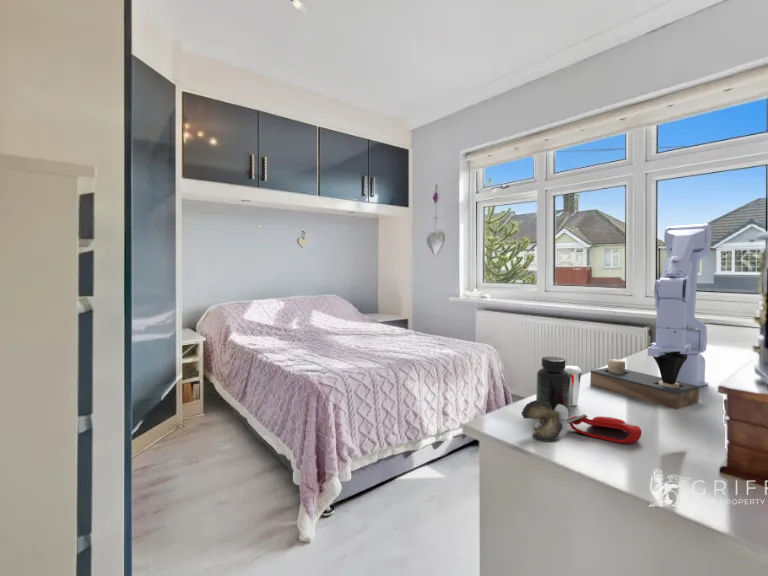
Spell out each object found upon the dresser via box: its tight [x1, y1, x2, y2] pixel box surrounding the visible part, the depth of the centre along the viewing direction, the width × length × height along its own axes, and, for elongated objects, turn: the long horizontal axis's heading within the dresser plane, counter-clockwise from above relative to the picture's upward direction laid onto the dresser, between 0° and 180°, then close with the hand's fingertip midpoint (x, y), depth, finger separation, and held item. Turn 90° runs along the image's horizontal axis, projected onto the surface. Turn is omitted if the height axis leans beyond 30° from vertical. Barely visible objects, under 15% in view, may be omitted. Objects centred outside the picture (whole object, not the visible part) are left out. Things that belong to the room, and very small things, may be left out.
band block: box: [589, 367, 700, 410], centre depth 100 cm, size 10×21×4 cm, turn 26°
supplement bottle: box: [535, 356, 571, 413], centre depth 87 cm, size 7×7×12 cm
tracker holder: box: [566, 413, 642, 445], centre depth 75 cm, size 12×4×10 cm
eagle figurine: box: [521, 400, 570, 442], centre depth 76 cm, size 8×7×9 cm
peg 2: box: [659, 381, 679, 388], centre depth 94 cm, size 4×4×4 cm
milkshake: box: [564, 358, 582, 407], centre depth 93 cm, size 5×5×10 cm
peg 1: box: [607, 358, 626, 375], centre depth 106 cm, size 4×4×4 cm
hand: (668, 383), depth 94 cm, fingers closed, pressing on peg 2
